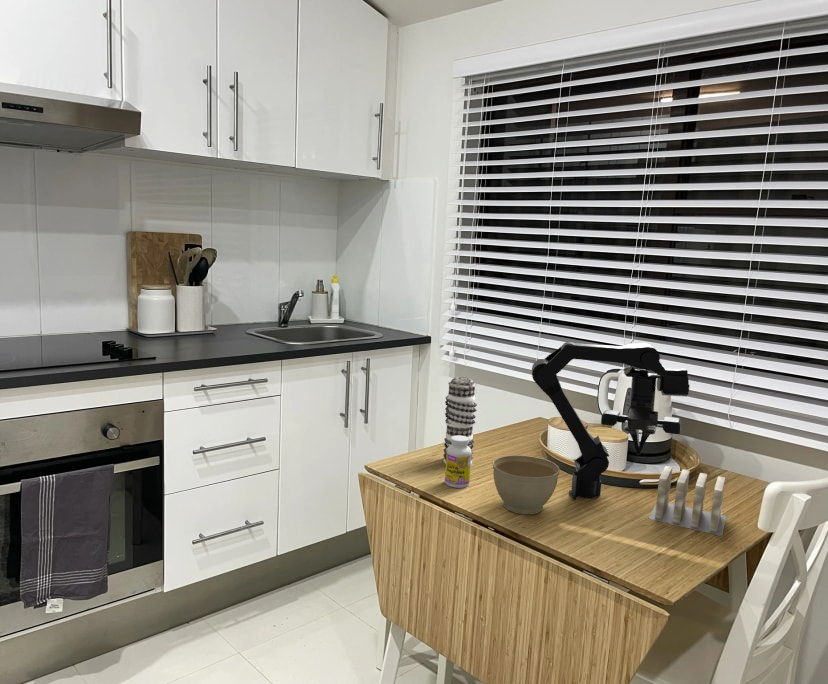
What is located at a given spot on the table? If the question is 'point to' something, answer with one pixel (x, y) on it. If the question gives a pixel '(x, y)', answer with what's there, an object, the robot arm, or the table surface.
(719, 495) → the domino
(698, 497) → the domino
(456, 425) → the decorative candle
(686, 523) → the board
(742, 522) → the table surface
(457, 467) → the supplement bottle
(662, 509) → the domino
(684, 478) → the domino
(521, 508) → the planter bowl
